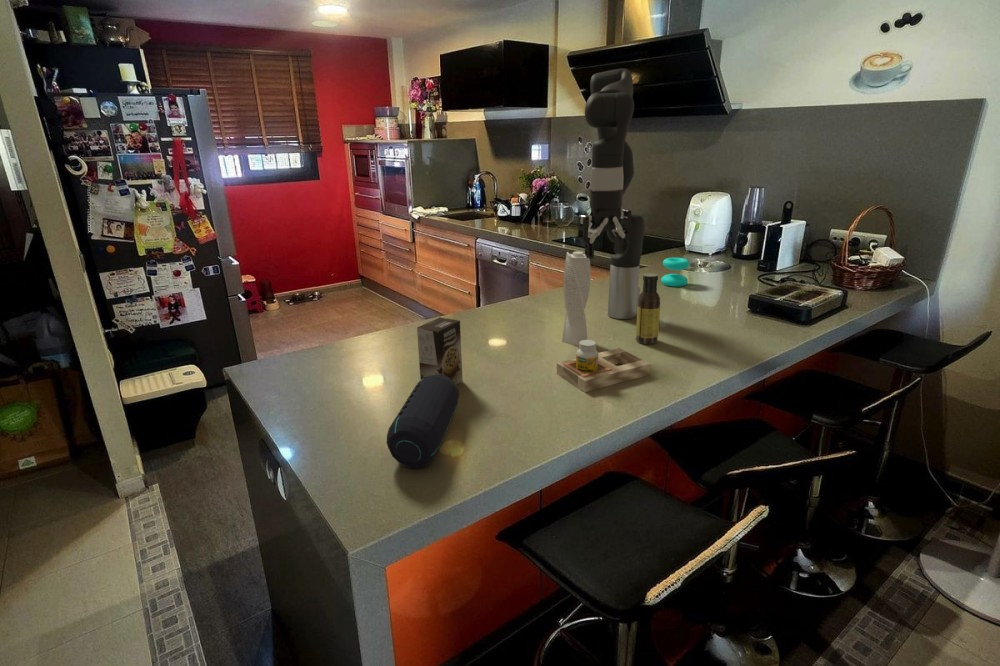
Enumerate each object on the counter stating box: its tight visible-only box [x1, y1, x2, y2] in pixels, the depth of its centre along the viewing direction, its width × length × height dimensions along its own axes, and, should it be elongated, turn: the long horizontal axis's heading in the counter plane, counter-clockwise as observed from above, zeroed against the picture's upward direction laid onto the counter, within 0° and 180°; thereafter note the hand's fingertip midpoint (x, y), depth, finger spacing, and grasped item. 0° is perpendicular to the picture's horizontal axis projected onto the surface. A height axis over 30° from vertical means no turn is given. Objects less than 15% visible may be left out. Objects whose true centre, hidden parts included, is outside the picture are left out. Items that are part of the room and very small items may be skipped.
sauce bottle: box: [635, 272, 661, 345], centre depth 152 cm, size 6×6×20 cm
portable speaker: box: [386, 374, 460, 469], centre depth 106 cm, size 25×10×10 cm, turn 172°
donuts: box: [660, 257, 691, 288], centre depth 211 cm, size 10×10×10 cm
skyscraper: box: [561, 251, 591, 347], centre depth 151 cm, size 8×8×28 cm
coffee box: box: [416, 317, 464, 386], centre depth 127 cm, size 9×6×16 cm
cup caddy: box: [556, 347, 651, 393], centre depth 134 cm, size 20×12×3 cm, turn 117°
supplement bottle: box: [575, 339, 599, 374], centre depth 131 cm, size 5×5×10 cm
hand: (603, 255), depth 129 cm, fingers open, 8 cm apart
